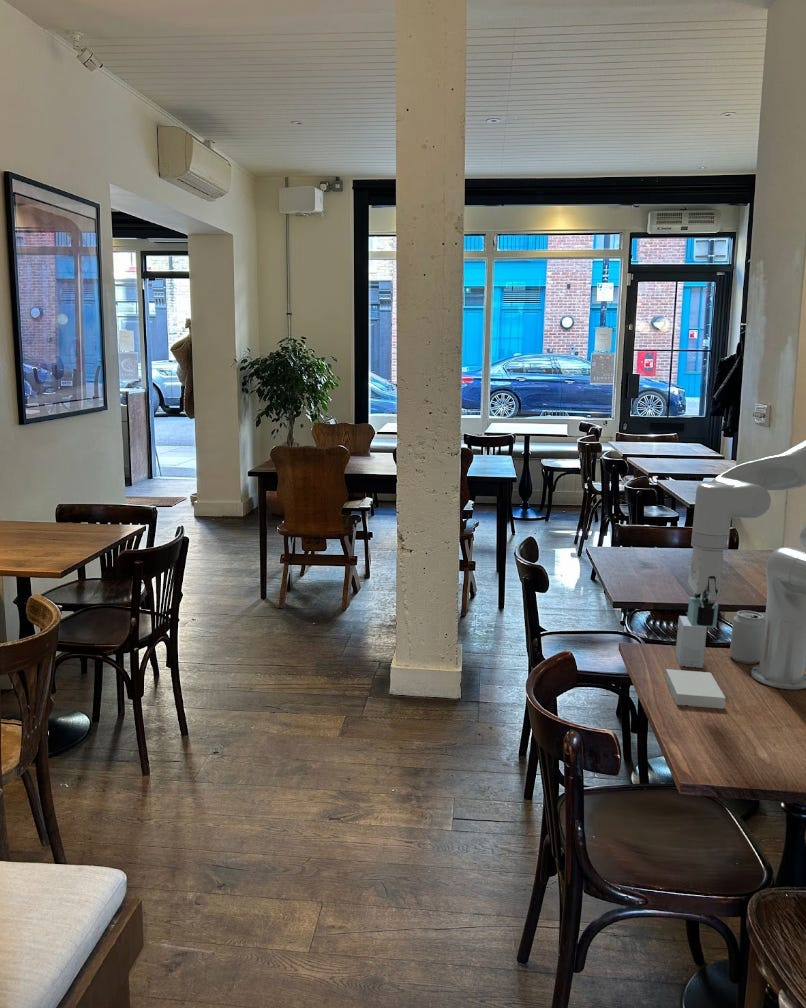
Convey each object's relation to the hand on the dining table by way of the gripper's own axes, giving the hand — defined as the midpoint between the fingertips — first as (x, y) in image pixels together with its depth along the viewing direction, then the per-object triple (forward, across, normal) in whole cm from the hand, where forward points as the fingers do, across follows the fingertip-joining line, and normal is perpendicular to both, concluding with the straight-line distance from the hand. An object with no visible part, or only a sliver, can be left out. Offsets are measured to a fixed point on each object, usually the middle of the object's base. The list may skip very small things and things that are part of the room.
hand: (701, 619), depth 179 cm
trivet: (+17, 0, 0) cm, 17 cm away
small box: (+18, -20, +3) cm, 27 cm away
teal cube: (+1, 0, 0) cm, 1 cm away
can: (+18, -24, +17) cm, 35 cm away
